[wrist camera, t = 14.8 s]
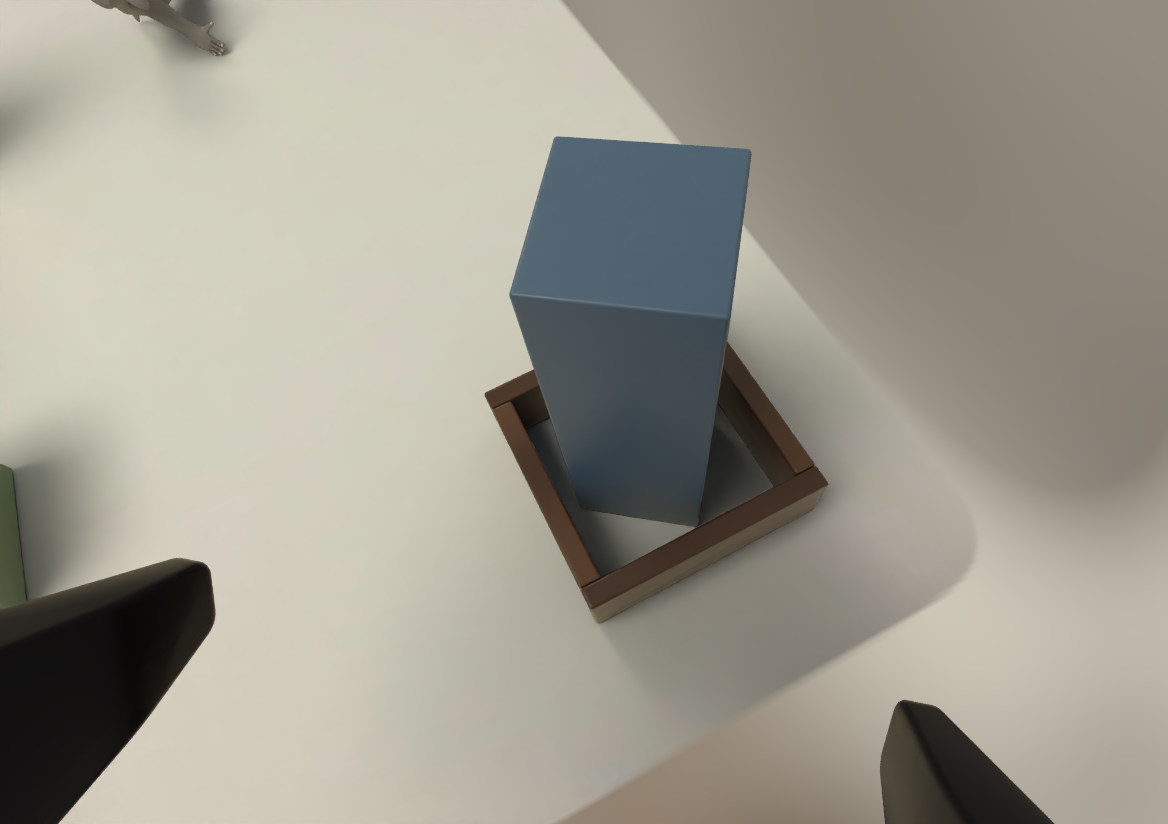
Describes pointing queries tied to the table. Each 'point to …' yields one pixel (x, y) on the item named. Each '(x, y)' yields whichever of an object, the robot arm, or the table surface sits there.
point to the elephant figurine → (167, 20)
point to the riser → (9, 545)
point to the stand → (703, 545)
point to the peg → (633, 314)
